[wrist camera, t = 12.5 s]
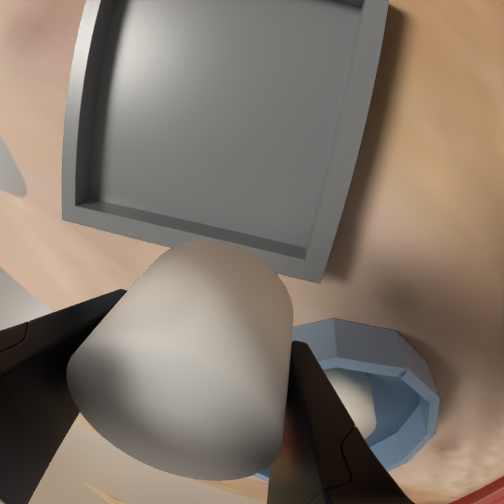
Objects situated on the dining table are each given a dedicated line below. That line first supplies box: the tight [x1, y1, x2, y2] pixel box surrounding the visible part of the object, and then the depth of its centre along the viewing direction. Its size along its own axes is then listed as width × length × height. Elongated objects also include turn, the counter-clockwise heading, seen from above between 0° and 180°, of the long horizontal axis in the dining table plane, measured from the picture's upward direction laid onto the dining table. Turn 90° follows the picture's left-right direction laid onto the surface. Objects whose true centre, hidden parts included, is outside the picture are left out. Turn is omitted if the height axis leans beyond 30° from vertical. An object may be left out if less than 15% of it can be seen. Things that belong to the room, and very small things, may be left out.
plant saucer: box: [450, 476, 504, 504], centre depth 32 cm, size 18×18×3 cm
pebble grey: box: [67, 241, 293, 481], centre depth 8 cm, size 5×5×4 cm
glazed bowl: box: [254, 318, 440, 482], centre depth 23 cm, size 18×18×4 cm
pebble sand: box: [323, 367, 376, 439], centre depth 21 cm, size 5×5×4 cm
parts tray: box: [62, 0, 389, 284], centre depth 16 cm, size 17×17×2 cm
